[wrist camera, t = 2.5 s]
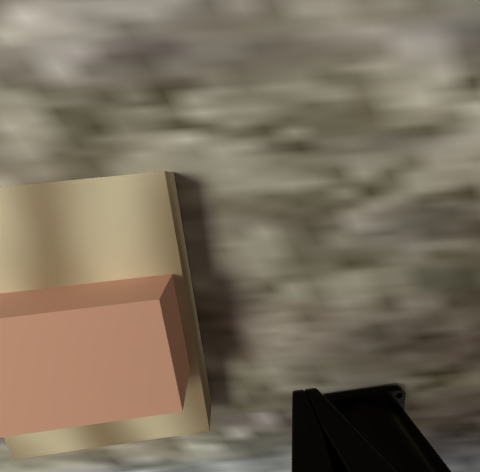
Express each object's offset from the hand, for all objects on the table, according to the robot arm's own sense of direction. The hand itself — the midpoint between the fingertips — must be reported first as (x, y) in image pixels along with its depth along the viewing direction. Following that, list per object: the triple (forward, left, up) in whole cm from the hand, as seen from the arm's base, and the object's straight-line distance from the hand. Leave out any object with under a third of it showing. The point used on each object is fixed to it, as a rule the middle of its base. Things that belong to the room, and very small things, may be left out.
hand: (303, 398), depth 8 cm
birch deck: (+11, 0, -7) cm, 13 cm away
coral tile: (+10, 0, -5) cm, 11 cm away
